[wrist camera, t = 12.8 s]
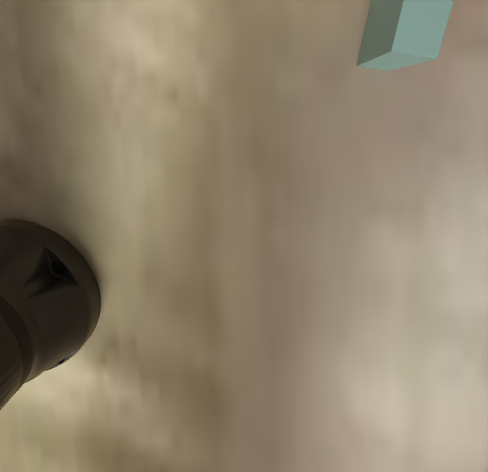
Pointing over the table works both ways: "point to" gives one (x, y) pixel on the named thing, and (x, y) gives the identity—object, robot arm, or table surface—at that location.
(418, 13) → the teal slotted plate
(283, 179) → the table surface
